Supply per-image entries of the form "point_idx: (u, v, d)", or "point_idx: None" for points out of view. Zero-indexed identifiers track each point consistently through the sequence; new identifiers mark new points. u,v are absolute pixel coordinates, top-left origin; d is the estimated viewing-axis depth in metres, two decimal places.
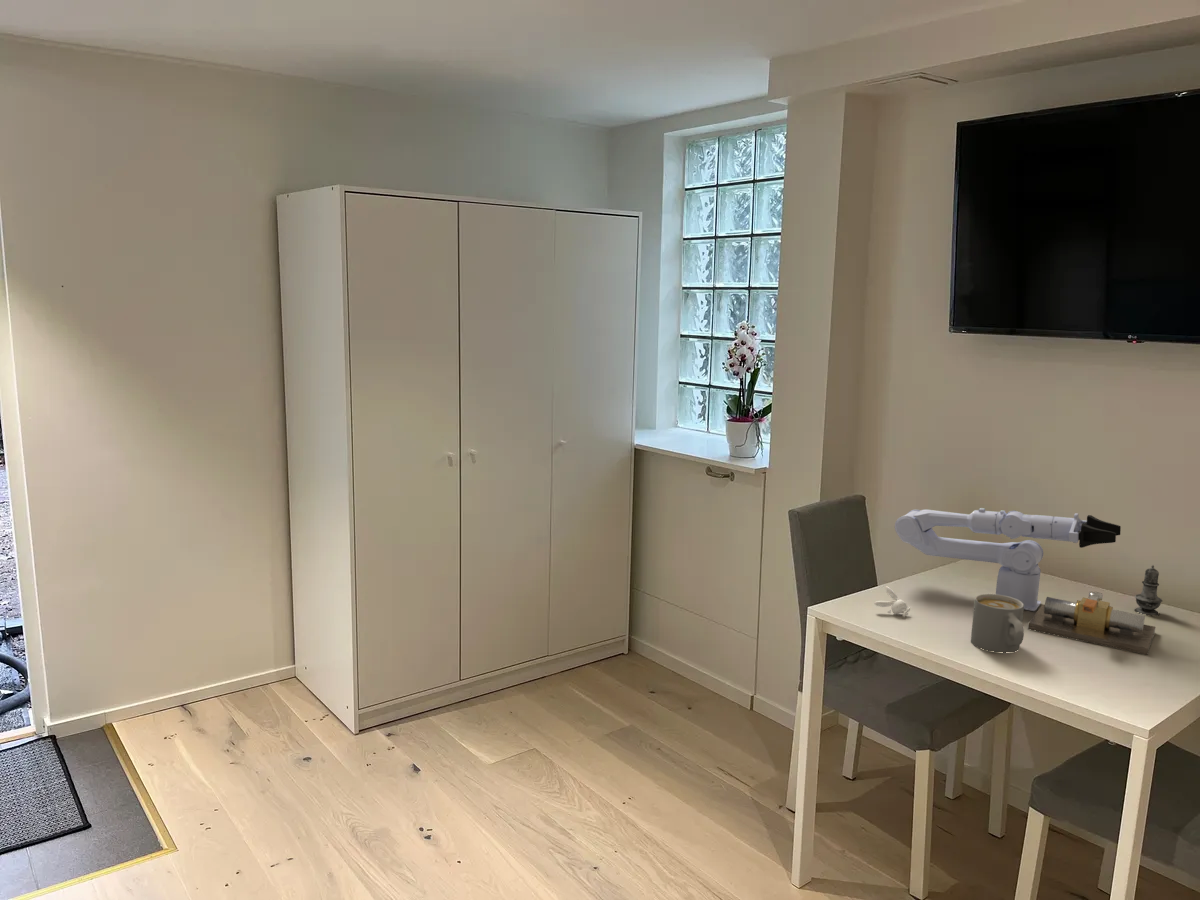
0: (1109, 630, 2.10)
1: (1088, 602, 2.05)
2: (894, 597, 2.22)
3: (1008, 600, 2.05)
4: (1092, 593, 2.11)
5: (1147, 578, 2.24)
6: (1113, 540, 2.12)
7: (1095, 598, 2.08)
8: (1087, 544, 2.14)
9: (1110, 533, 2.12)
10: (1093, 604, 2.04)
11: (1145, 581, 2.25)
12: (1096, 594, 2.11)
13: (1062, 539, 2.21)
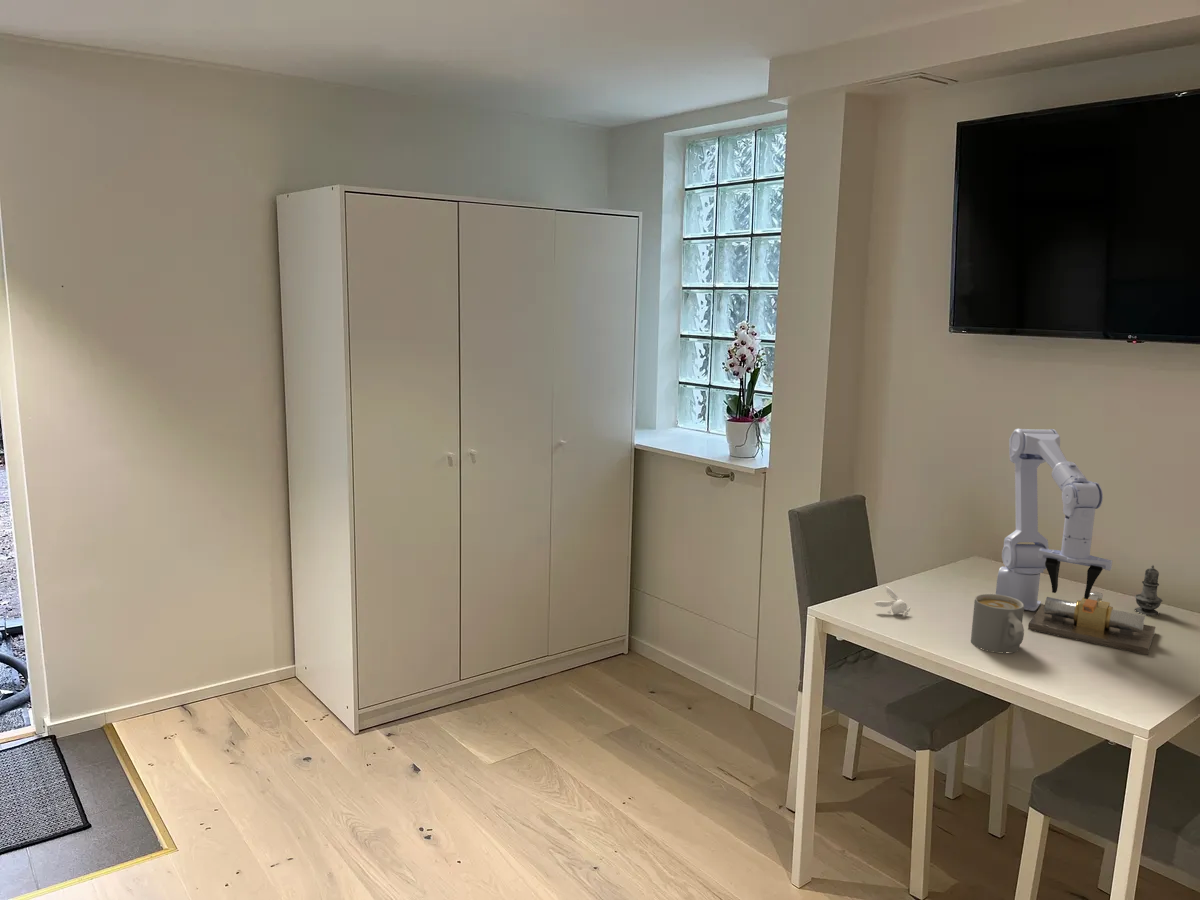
0: (1109, 630, 2.10)
1: (1088, 602, 2.05)
2: (894, 597, 2.22)
3: (1008, 600, 2.05)
4: (1092, 593, 2.11)
5: (1147, 578, 2.24)
6: None
7: (1095, 598, 2.08)
8: None
9: None
10: (1093, 604, 2.04)
11: (1145, 581, 2.25)
12: (1096, 594, 2.11)
13: None
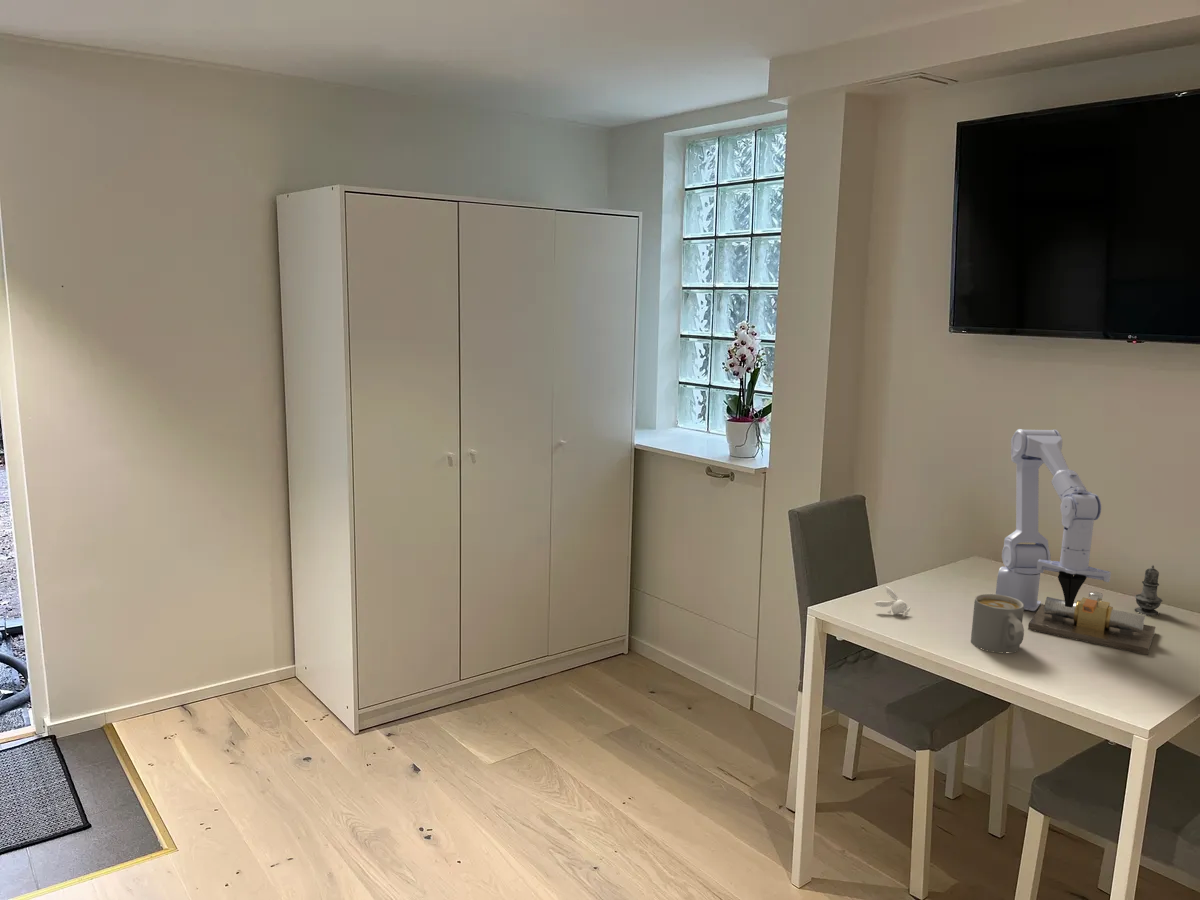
0: (1109, 630, 2.10)
1: (1088, 602, 2.05)
2: (894, 597, 2.22)
3: (1008, 600, 2.05)
4: (1092, 593, 2.11)
5: (1147, 578, 2.24)
6: None
7: (1095, 598, 2.08)
8: None
9: None
10: (1093, 604, 2.04)
11: (1145, 581, 2.25)
12: (1096, 594, 2.11)
13: None
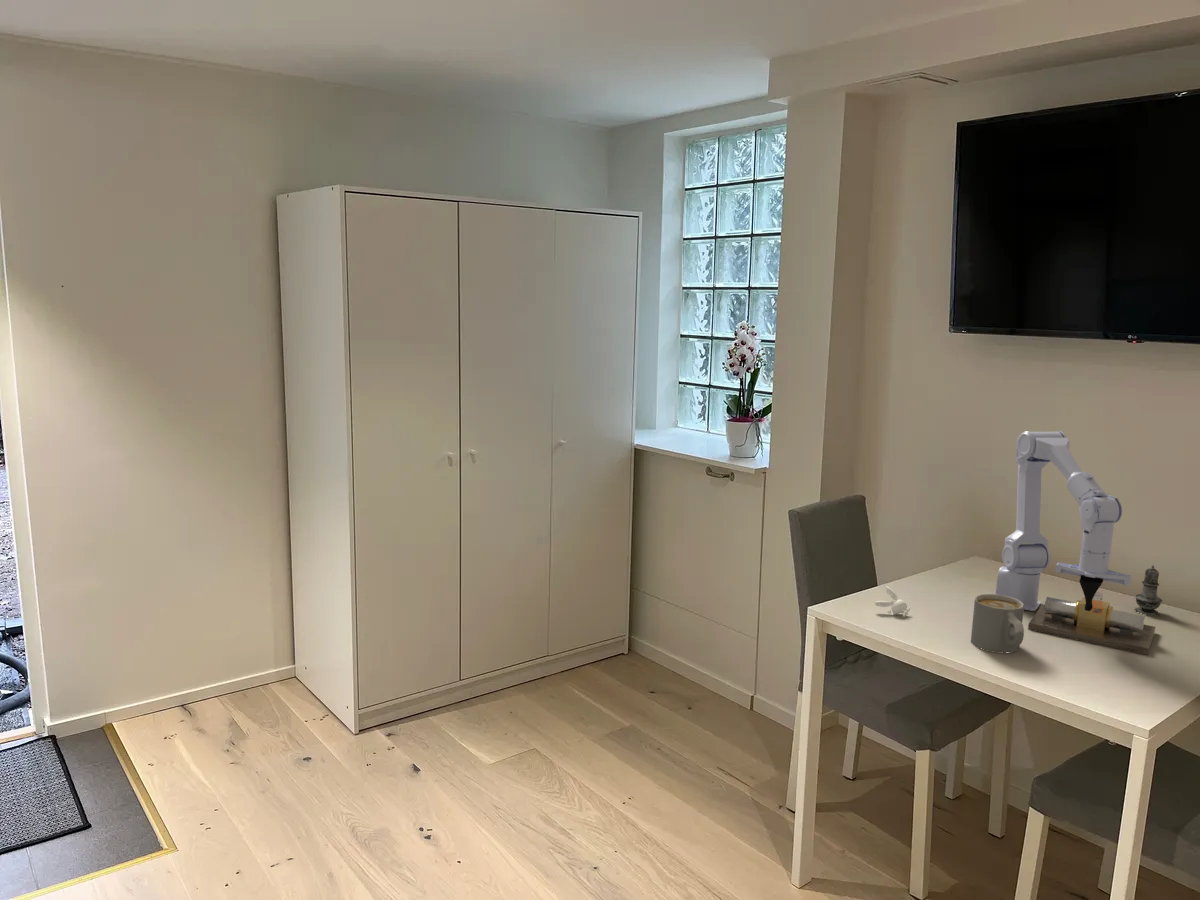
0: (1109, 630, 2.10)
1: (1095, 603, 2.04)
2: (894, 597, 2.22)
3: (1008, 600, 2.05)
4: None
5: (1147, 578, 2.24)
6: None
7: (1098, 598, 2.08)
8: None
9: None
10: (1101, 605, 2.03)
11: (1145, 581, 2.25)
12: (1097, 594, 2.11)
13: None
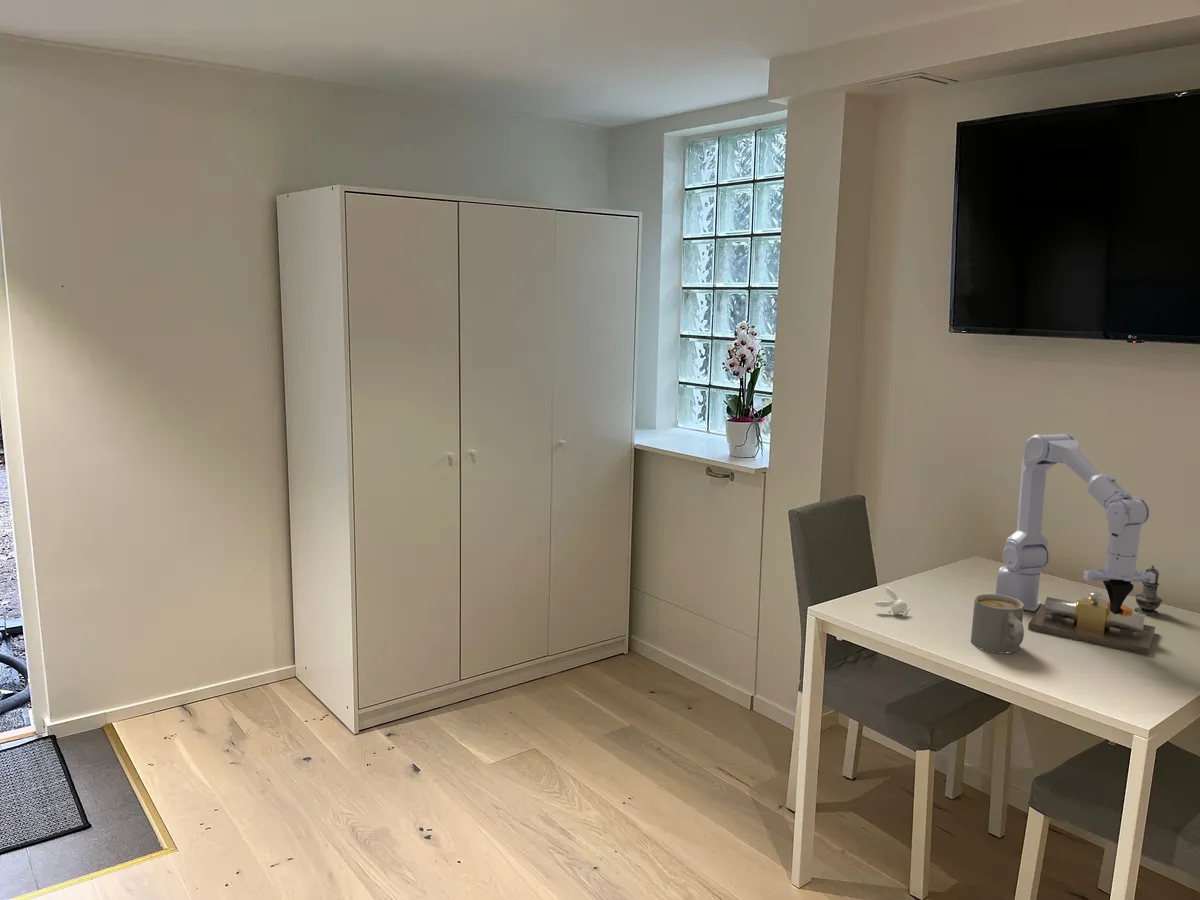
0: (1109, 630, 2.10)
1: None
2: (894, 597, 2.22)
3: (1008, 600, 2.05)
4: (1094, 594, 2.11)
5: None
6: (1111, 610, 2.03)
7: (1107, 599, 2.08)
8: (1105, 585, 2.04)
9: (1115, 609, 2.02)
10: (1125, 606, 2.02)
11: None
12: (1098, 594, 2.11)
13: None
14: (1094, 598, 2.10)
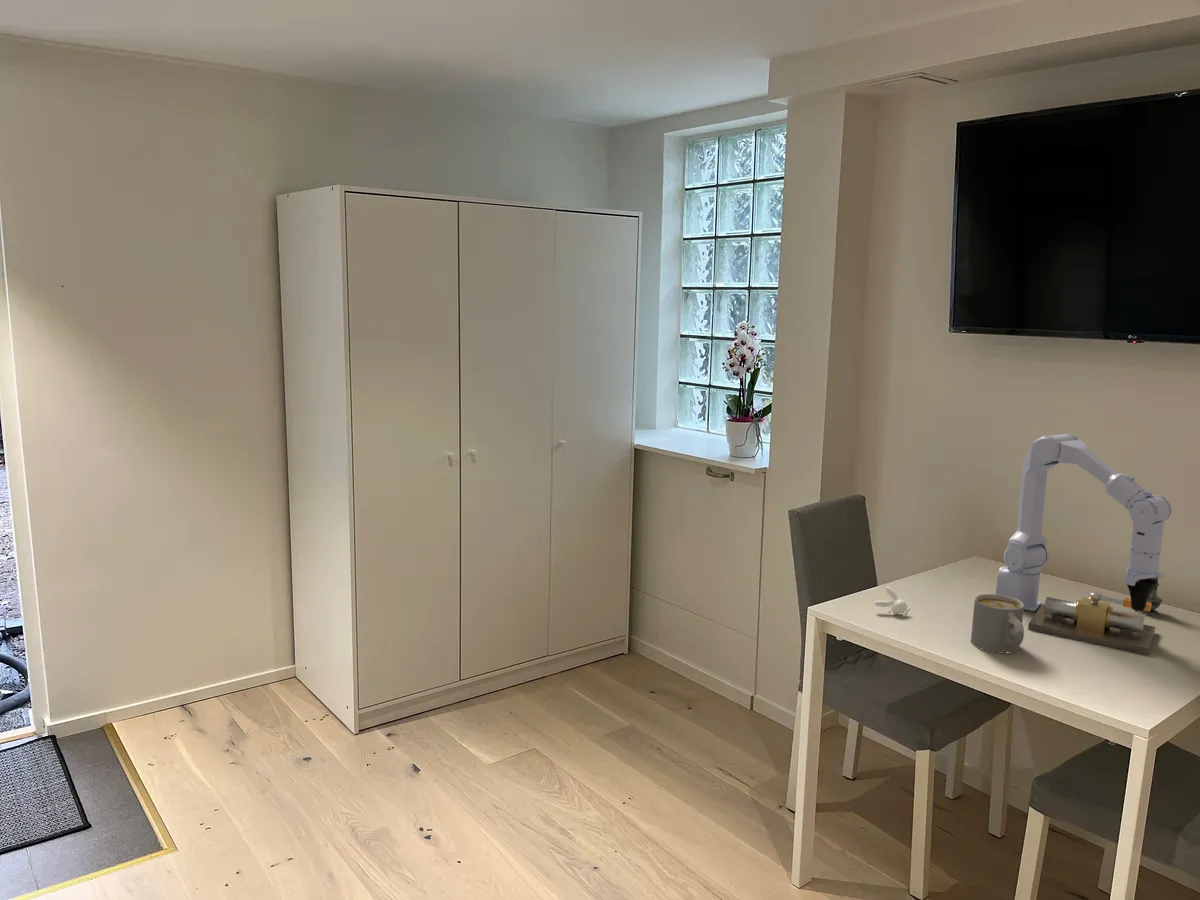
0: (1109, 630, 2.10)
1: None
2: (894, 597, 2.22)
3: (1008, 600, 2.05)
4: (1097, 594, 2.11)
5: None
6: (1134, 607, 2.05)
7: (1113, 597, 2.10)
8: (1128, 585, 2.04)
9: (1142, 607, 2.04)
10: None
11: None
12: (1099, 593, 2.11)
13: (1130, 559, 2.03)
14: (1099, 598, 2.10)
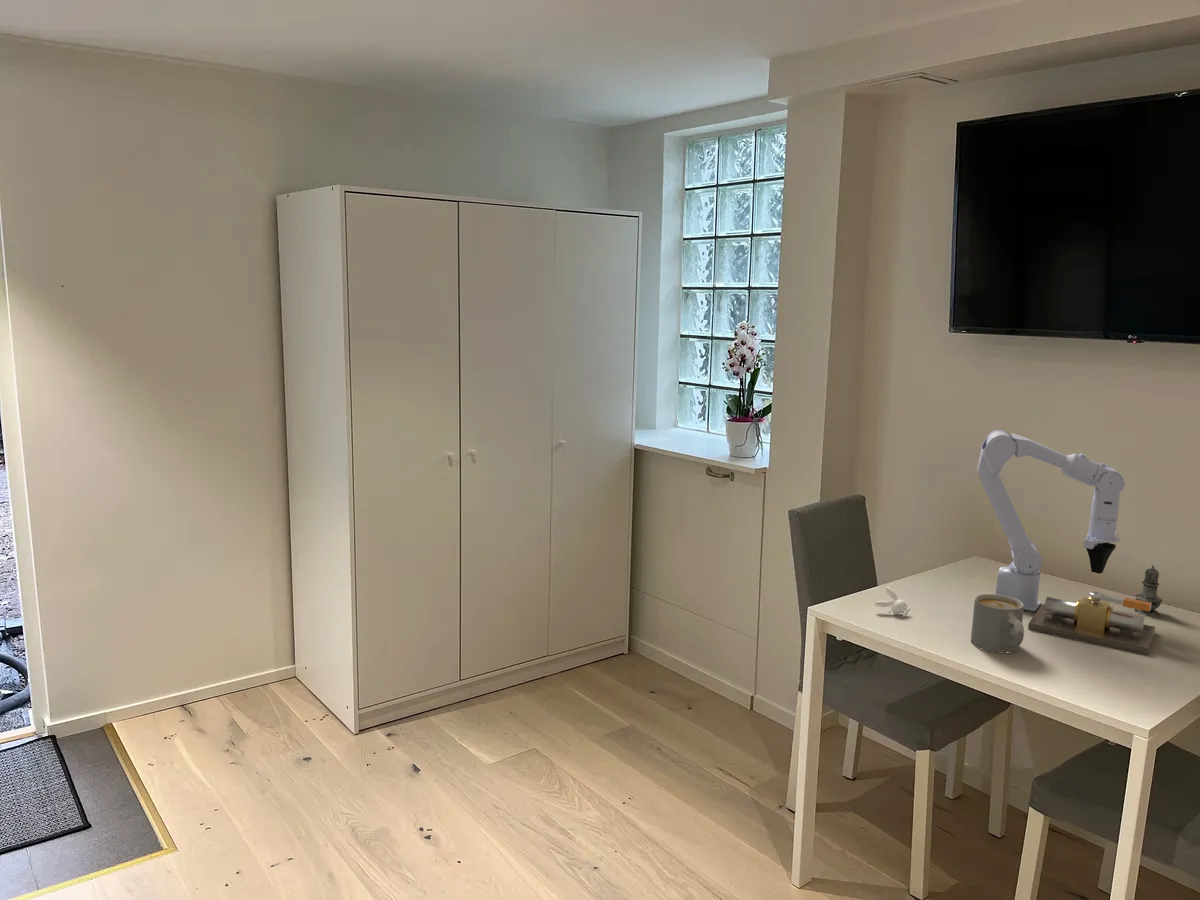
0: (1109, 630, 2.10)
1: (1137, 601, 2.06)
2: (894, 597, 2.22)
3: (1008, 600, 2.05)
4: (1097, 594, 2.11)
5: (1147, 578, 2.24)
6: (1093, 570, 2.23)
7: (1113, 596, 2.10)
8: (1087, 550, 2.22)
9: (1100, 569, 2.22)
10: (1142, 601, 2.06)
11: (1145, 581, 2.25)
12: (1099, 593, 2.11)
13: (1089, 525, 2.21)
14: (1099, 598, 2.10)
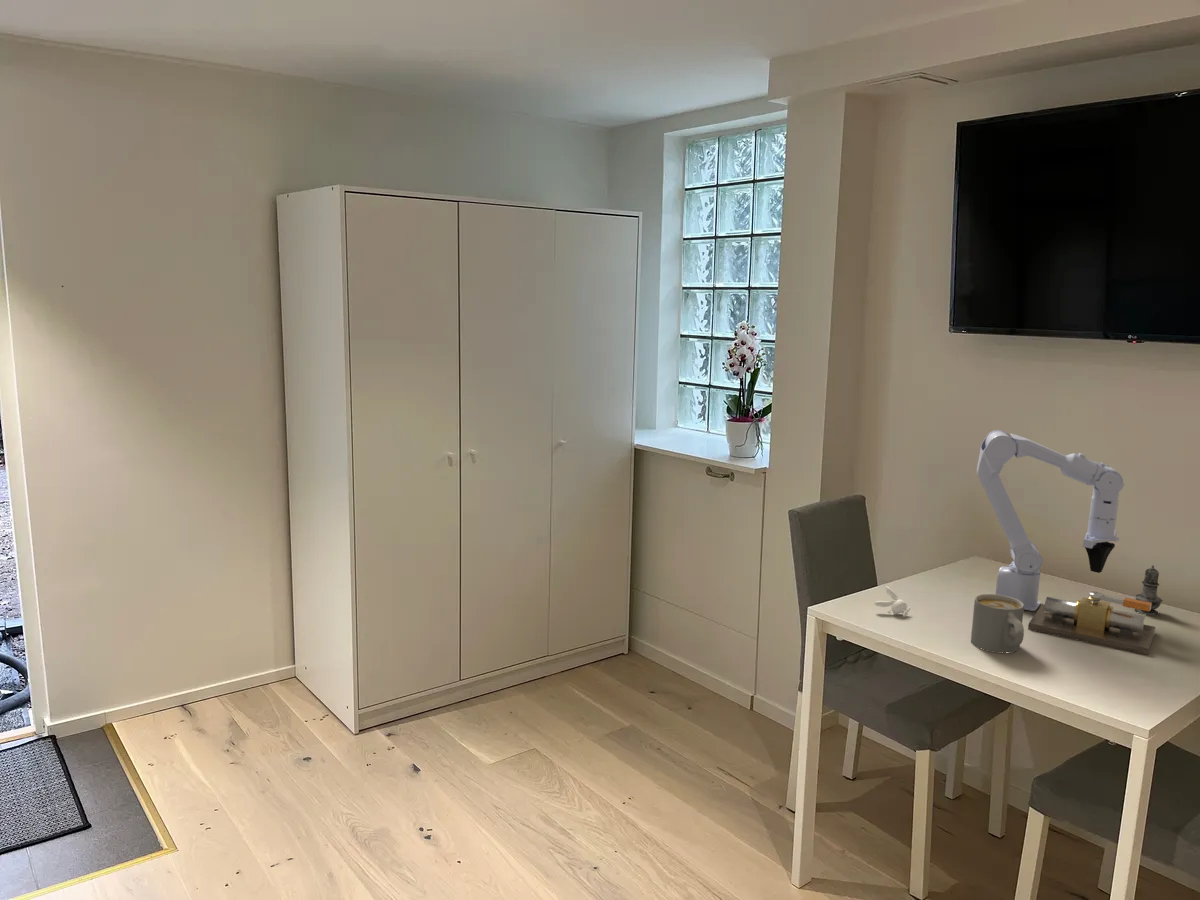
0: (1109, 630, 2.10)
1: (1137, 601, 2.06)
2: (894, 597, 2.22)
3: (1008, 600, 2.05)
4: (1097, 594, 2.11)
5: (1147, 578, 2.24)
6: (1092, 569, 2.23)
7: (1113, 596, 2.10)
8: (1087, 549, 2.23)
9: (1099, 568, 2.22)
10: (1142, 601, 2.06)
11: (1145, 581, 2.25)
12: (1099, 593, 2.11)
13: (1089, 525, 2.22)
14: (1099, 598, 2.10)
